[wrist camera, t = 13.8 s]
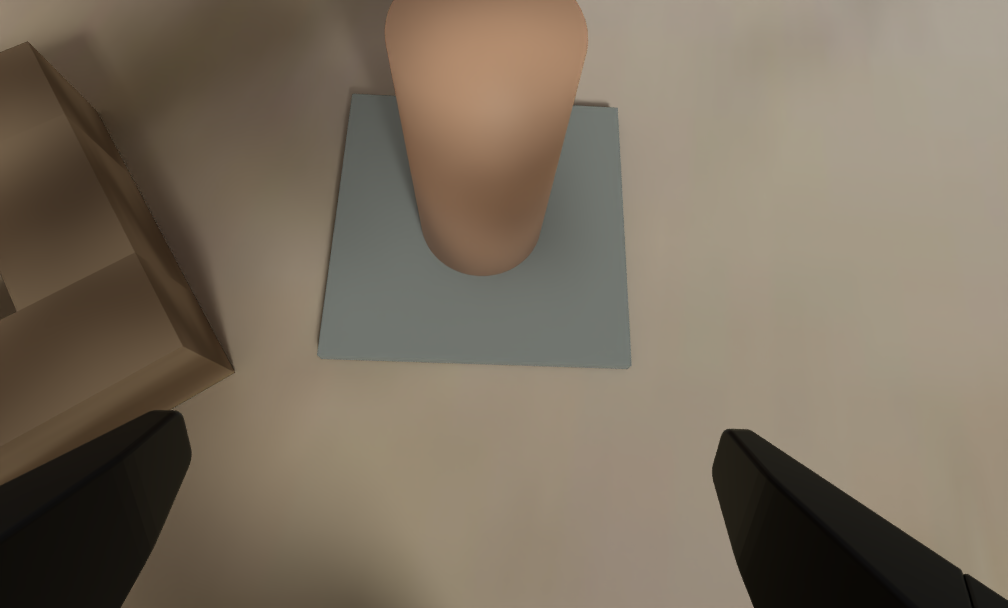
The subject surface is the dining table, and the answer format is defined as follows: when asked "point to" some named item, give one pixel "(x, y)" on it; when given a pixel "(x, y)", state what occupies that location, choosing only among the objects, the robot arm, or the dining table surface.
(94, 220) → the pocket block
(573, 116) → the pad
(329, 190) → the dining table surface
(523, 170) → the peg
